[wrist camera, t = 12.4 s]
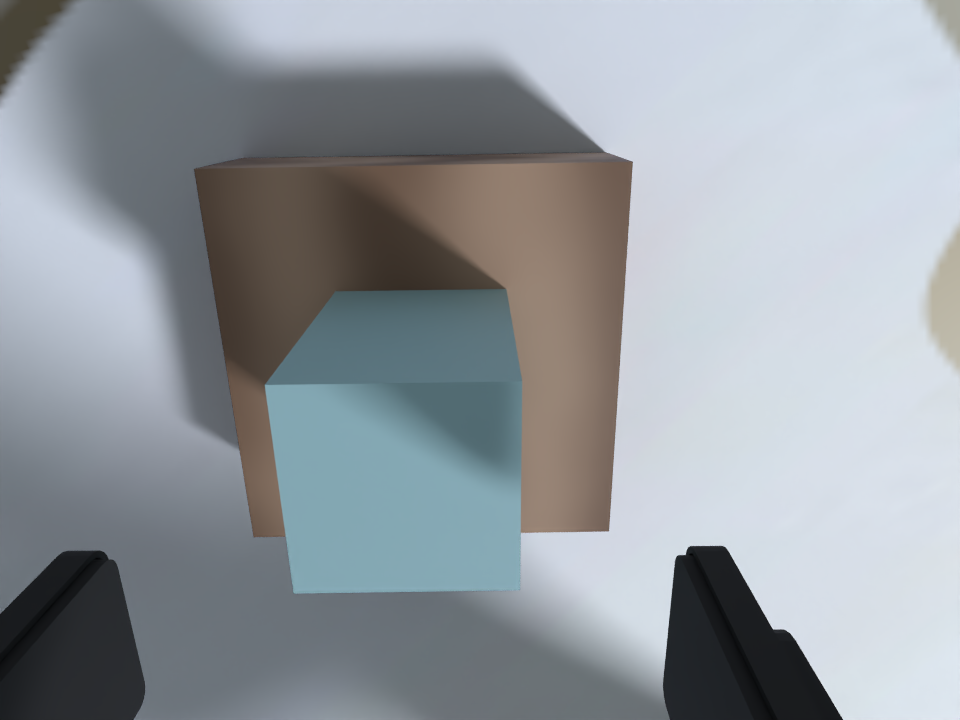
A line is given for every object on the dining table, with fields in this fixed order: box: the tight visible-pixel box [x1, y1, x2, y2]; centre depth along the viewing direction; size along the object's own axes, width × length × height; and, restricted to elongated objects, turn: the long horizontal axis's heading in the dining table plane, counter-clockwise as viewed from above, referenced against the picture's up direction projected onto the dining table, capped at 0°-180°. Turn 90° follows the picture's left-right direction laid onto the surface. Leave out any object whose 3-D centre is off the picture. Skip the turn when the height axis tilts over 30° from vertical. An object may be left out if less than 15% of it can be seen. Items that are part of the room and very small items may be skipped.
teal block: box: [265, 289, 522, 594], centre depth 17 cm, size 5×5×7 cm
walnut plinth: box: [194, 152, 633, 537], centre depth 22 cm, size 12×12×4 cm
